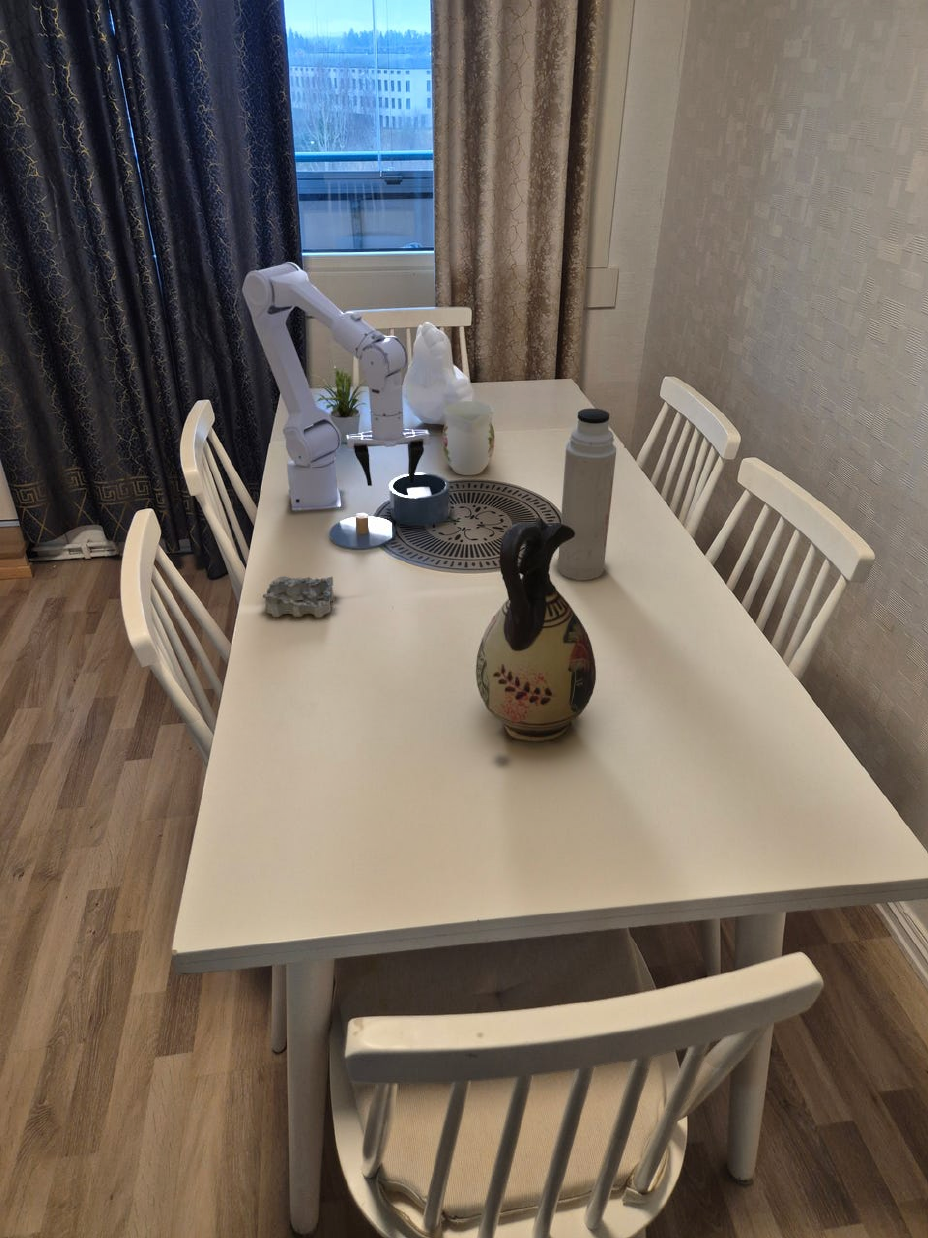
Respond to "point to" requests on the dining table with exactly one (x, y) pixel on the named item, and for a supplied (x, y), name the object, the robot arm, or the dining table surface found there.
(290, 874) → the dining table surface
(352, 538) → the lid
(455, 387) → the decorative rooster
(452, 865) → the dining table surface
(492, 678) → the ceramic jug
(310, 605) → the egg carton
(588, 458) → the thermos bottle
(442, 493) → the canister
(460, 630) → the dining table surface
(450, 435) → the pitcher
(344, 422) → the house plant
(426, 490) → the block
